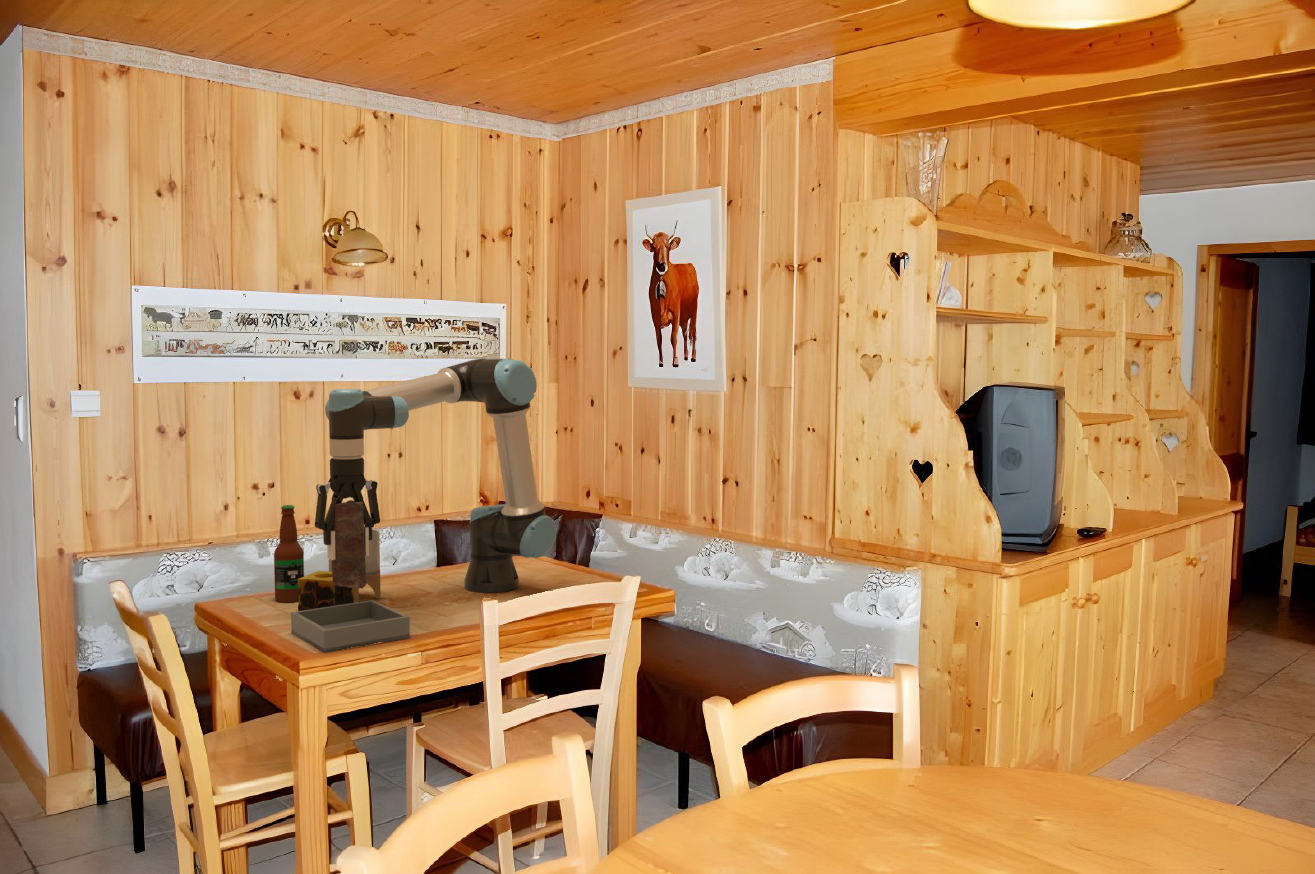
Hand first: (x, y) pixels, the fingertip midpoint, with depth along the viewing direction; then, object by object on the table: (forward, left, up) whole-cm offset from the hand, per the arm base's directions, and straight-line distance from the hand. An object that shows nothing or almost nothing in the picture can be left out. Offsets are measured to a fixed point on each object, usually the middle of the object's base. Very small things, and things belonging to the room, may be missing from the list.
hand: (348, 556), depth 240 cm
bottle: (-1, -42, -19) cm, 46 cm away
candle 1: (-3, -22, -19) cm, 29 cm away
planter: (-15, -33, -19) cm, 41 cm away
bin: (0, 0, -18) cm, 18 cm away
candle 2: (0, 0, -7) cm, 7 cm away
